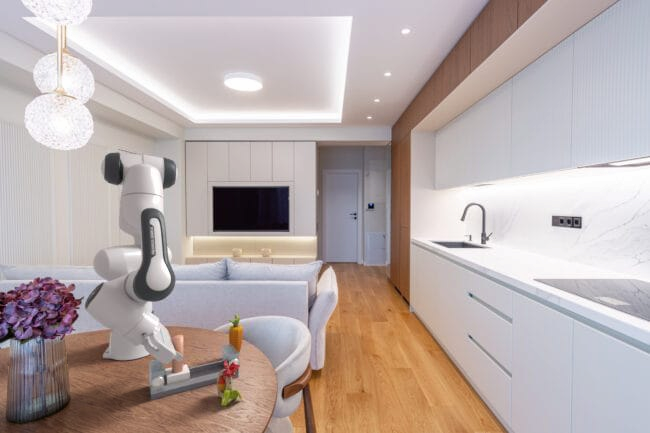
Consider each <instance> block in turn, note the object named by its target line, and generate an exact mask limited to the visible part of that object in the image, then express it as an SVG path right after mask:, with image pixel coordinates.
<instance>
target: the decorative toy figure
mask: <svg viewBox="0 0 650 433" xmlns="http://www.w3.org/2000/svg"><path fill="white" fill-rule="evenodd" d="M223 364H224V366H225V367H226V369H224V370H221V371H220V372H219V374H218V378H217V383H216V388H217V397H219V398H221V406H223V407H225V408H226V407H227V405H228V403H229V401H230V400H237V399H238V398H239V399H240V400H242V399H243V397H242V394H241V392H240V391H239V390H238V389H233V379H232V376H234V377H235V376H236V374H235V371H236V370H237V369H238V368H240V367H241V364H239V365H237V364H235V362H232V363H231V364H230V366H228V364H227V362H226V360H225V361H224V363H223Z"/></svg>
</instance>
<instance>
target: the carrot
mask: <svg viewBox="0 0 650 433" xmlns="http://www.w3.org/2000/svg"><path fill="white" fill-rule="evenodd" d="M234 318H235V319H234V320H232V319H229V320H228V322H230V323H231V324H232V325H231V326H230V327H229V330H228V342H229V344H232V345H233V346H234V348H235V349H236V350H237V351H238V353H239V354H240V352H241V349H242V344H243V335H244V326H243V325H240V324H239V323H240V321H241V317H240V316H238V314H234ZM229 344H228V345H229Z"/></svg>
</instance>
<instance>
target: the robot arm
mask: <svg viewBox="0 0 650 433" xmlns="http://www.w3.org/2000/svg"><path fill="white" fill-rule="evenodd" d="M100 165H101V166H100V170H101V171H100V172H101V175H102V177H103V179H104V180H105V182H107V183H108V184H111V185H114V186H122V188H121V192H120V199H119V216H118V217H119V219H118V220H119V221H118V225H119V228H120V230H122V232H124V233H125V234H128V235H130V236H132V237H133V240H134V244H126V245H114V246H110V247H106V248H101V249H100V250H98V251H97V253H96V254H95V256H94V258H93V261H92V262H93V263H92V265H93V266H92V267H93V269H94V272H95V273H96V274H97V276H98V277H101V278H102V279H104V280H106V281H104V282H101V283H99V284H98V285H96V287H95V288H94V289H93V290H92V292H91V293H89V295H88V297H87V298H86V299H85V300H86V301H85V302H84V303H85V304H84V309H85V311H86V313H88V314H89V315H90V316H91V317H92V318H93V319H94V320H96V321H97V323H99V324H100V325H102V326H104V327H105V328H107V329H110V330H112V331H111V332H110V333H109V335H108V336H109V337H108V338H109V343H108V347H107V348H106V349H105V351H104V352H103V354H102V359H112V360H115V361H131V360H136V359H141V358H144V357H146V356H147V357H148V356H149V355H150V356H152V357H153V358H155V360H156V359H157V360H158V361H160V362H161V363H162V365H165V366H167V365H168V364H170V362H172V359H175V360H177V361H178V362H179V361H181V360H182V358H183V359H184V354H183V355H182V354H181V353H180V352H177V351H176V350H175V349H174V346H173V343H172V337H171V335H170V333H169V330H168V328H166V326H164V325H163V324H162V323H161V322H160V318H159V317H158V316H156V315H155V314H154V312H155V311H154V310H153V303H154V302H155V303H156V302H160V301H163V300H165V299H166V298H167V297H169V296H170V295H171V294H172V292H173V291H174V289H175V286H176V275H175V272H174V270H173V267H172V265H171V263H172V259H173V253H172V251H171V248H169V246H168V242H167V240H168V239H167V231H166V230H167V229H166V228H167V226H166V222H165V221H166V220H165V214H164V211H165V210H164V209H165V208H164V207H165V206H164V202H165V201H164V198H165V196H164V190H166V189H169V188H171V187H173V186H174V185H175V184H176V181H177V179H178V175H179V172H178V167H177V165H176V162H174V160H173V159H171V158H167V157H159V156H154V155H148V154H143V153H142V154H137V153H120V152H109V153H107V154H106V155H105V156H104V158H103V160H102V162H101V164H100Z"/></svg>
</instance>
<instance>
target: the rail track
mask: <svg viewBox="0 0 650 433" xmlns="http://www.w3.org/2000/svg"><path fill="white" fill-rule="evenodd" d="M221 347H222V349H221V350H222V352H221V355H222V356H221V359H220V360H218V361H217V360H216V361H212V362H209V363H205V364H200V365H196V366H191V367H188V368H189V371H190V379H189V380H185V381H181V382H177V383H173V384H169V385H166V381H165V368H164V364H163V363H161V362H160V361H158V360H157V359H156V358H155V359H151V360H149V366H148V367H149V368H148V371H149V372H148V374H149V375H148V378H149V379H148V389H149V395H150V400H151V401H153V400H158V399H161V398H164V397H168V396H172V395H175V394H180V393H183V392H187V391H191V390H195V389H199V388H202V387H205V386H209V385H213V384H217V378H218V374H219V372H220V371H221V370H224V369H226V367H225V366H224V364H223V363H224V361H225V360H226V362H227V364H228V366H230V364H231V363H232V362H235V364H237V365H240V360H239V359H240V352H239V353H238V351H237V350H236V349H235V348H234V346H233V345H232V344H224V345H222V346H221ZM239 368H240V367H239ZM239 368H238V369H237V370H236V371H235V374H236V376H235V377H234V376H232V380H233V379H236V378H239V372H240V371H239Z"/></svg>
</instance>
